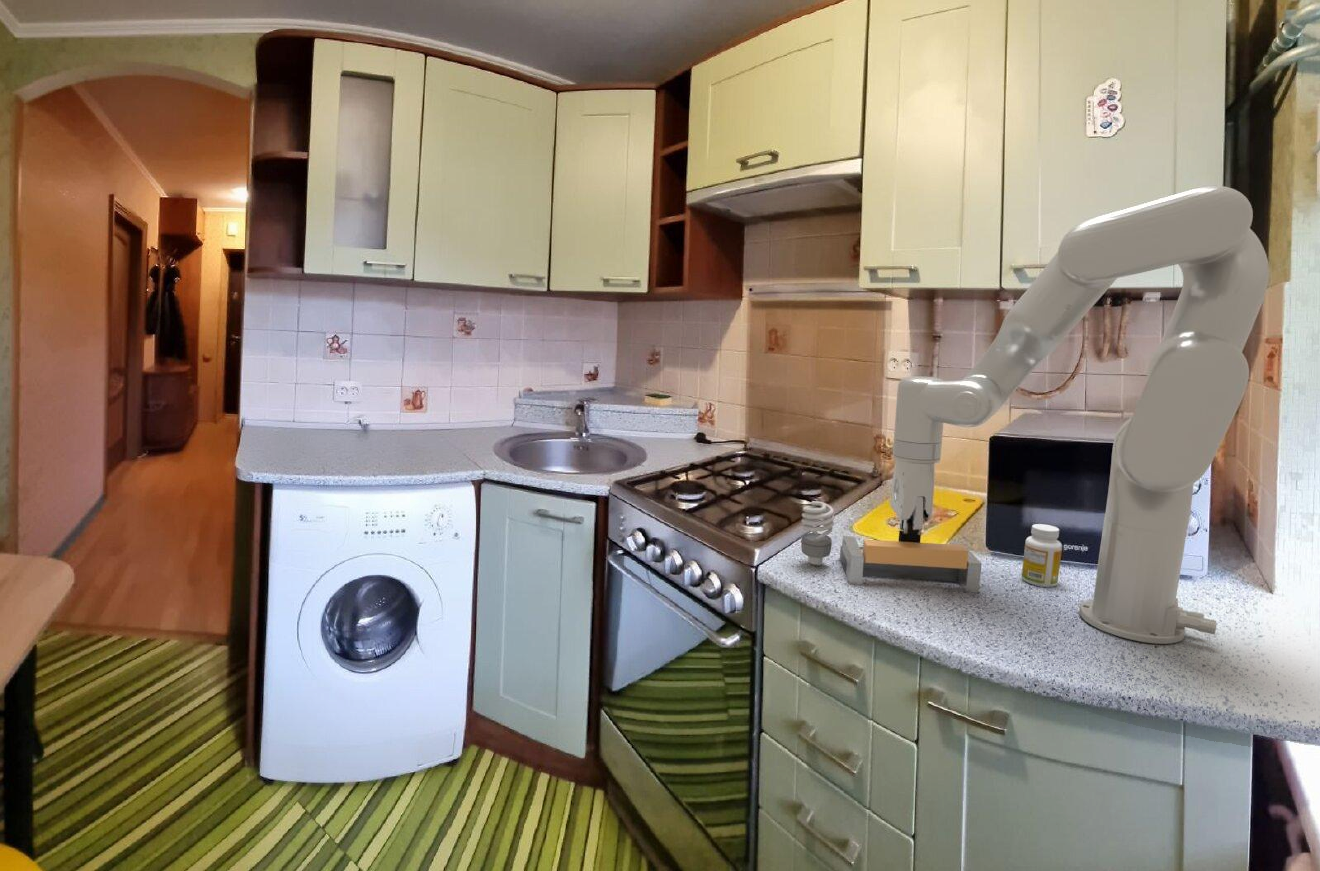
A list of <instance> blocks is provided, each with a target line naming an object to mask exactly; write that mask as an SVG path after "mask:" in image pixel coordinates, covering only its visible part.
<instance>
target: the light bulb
mask: <svg viewBox="0 0 1320 871" xmlns="http://www.w3.org/2000/svg"><path fill="white" fill-rule="evenodd" d="M811 505H812V506H811ZM802 511H803V512H802V513H801V517H802V519H801V523H802V526H801V527H802V529H803V530H804V531H807V532H808V533H804V534H802V536H801V539H800V542H801V543H800V544H801V546H800V547H801V553H802V554H803V555H805V556H806V557H807V558H808V559H807V560H808V562H809V564H811V565H812V566H814V567H817V566H819V565H821V564H822V563H823V559H824V558H826V557H829V556H830V554H831V552H832V551H831V550H832V547H833V546H832V545H833V542H832V540H833V539H832V538H831V537H830V536H829V535H830V534H831V533H832V531H833V527H834V524H835V522H834V520H835V515H834V512H835V510H834V507H832V506H831V505H830V504H828V503H825V502H823V501H818V500H812V501H811V502H810V505H807V506H803V507H802ZM815 526H816V527H815ZM819 532H822V533H819Z"/></svg>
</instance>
